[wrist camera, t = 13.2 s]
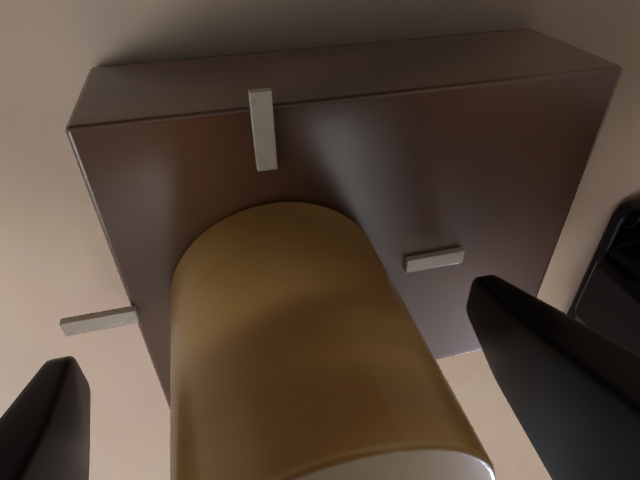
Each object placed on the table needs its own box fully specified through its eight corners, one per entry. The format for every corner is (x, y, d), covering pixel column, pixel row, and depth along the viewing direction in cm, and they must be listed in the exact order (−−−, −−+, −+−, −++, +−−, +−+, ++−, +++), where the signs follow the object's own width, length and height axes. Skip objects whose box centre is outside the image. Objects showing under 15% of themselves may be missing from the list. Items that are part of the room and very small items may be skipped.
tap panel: (536, 13, 11) (639, 52, 9) (469, 281, 16) (521, 352, 14) (12, 56, 9) (-47, 124, 6) (130, 347, 14) (122, 444, 12)
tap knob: (382, 184, 9) (553, 433, 5) (370, 334, 12) (475, 575, 8) (146, 219, 8) (122, 551, 4) (192, 372, 11) (204, 663, 7)
